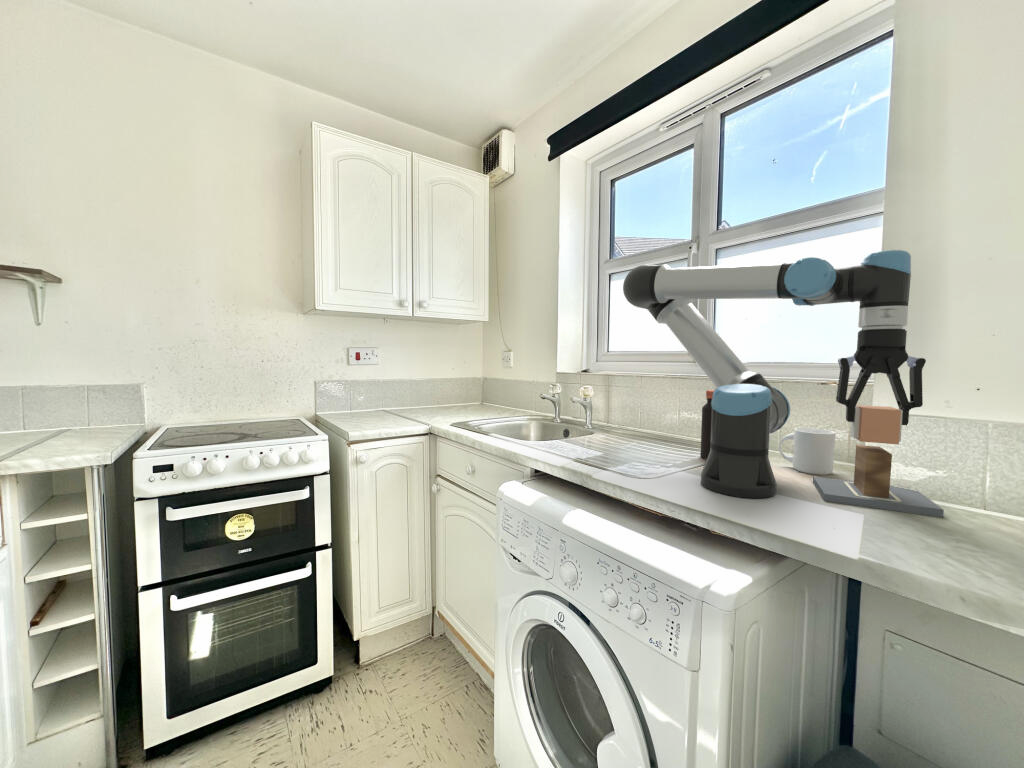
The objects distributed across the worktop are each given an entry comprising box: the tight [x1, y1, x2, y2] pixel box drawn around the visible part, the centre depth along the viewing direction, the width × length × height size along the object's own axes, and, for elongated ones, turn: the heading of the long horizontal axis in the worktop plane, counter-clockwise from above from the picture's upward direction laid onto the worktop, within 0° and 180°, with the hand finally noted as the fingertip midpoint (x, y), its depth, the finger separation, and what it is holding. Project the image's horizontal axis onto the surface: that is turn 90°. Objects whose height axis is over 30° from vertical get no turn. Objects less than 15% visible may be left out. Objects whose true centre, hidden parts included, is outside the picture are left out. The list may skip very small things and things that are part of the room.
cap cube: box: [855, 404, 901, 445], centre depth 86 cm, size 6×6×7 cm
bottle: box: [700, 389, 715, 460], centre depth 120 cm, size 7×7×20 cm
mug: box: [778, 427, 836, 476], centre depth 108 cm, size 9×12×11 cm
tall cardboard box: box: [853, 444, 893, 498], centre depth 87 cm, size 4×8×9 cm, turn 151°
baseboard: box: [812, 476, 945, 518], centre depth 87 cm, size 18×14×2 cm
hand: (874, 438), depth 86 cm, fingers closed on cap cube, 6 cm apart
